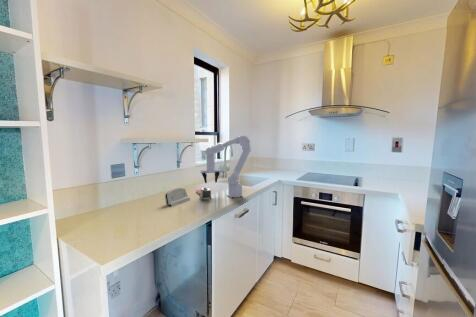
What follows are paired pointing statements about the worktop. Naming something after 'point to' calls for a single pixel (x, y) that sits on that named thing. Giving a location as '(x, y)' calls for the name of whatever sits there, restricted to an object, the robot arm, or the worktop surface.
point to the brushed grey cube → (205, 192)
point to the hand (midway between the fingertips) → (210, 182)
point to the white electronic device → (176, 196)
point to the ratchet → (201, 196)
